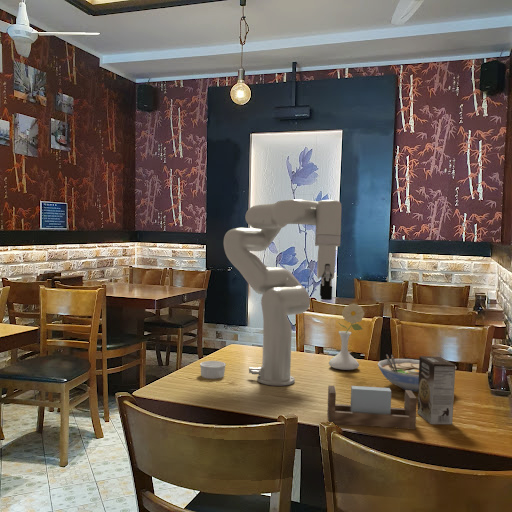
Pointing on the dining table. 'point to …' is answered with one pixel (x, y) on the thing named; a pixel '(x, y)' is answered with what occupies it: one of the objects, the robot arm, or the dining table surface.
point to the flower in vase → (344, 359)
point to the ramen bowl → (401, 372)
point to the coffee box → (436, 389)
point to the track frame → (394, 419)
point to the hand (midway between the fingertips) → (325, 297)
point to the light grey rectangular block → (370, 400)
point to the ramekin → (212, 369)
